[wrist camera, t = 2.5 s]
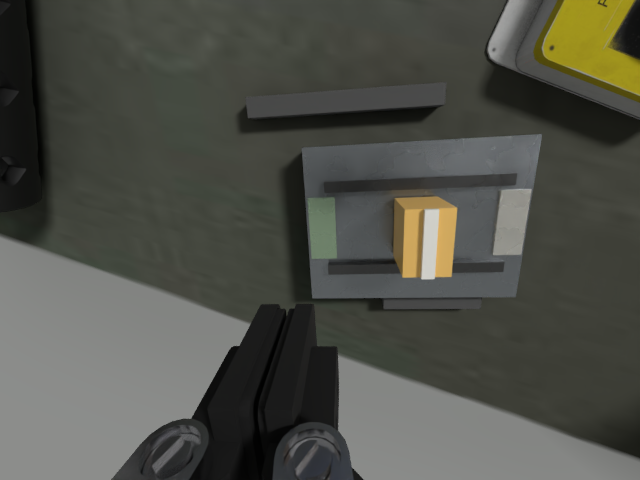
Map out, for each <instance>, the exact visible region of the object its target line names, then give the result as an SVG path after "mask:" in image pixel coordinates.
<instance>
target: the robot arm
mask: <svg viewBox="0 0 640 480" xmlns="http://www.w3.org/2000/svg"><path fill="white" fill-rule="evenodd" d="M338 402H339V375H338V350H337V347H323V346H317V340H316V326H315V311H314V304H296V306H295V309H289V312H288V315H287V316H286V310H285V309H280V306H279V304H262V305H261V306H260V307H259V309H258V311H257V313H256V315H255V317H254V319H253V321H252V323H251V325H250V327H249V329H248V331H247V333H246V335H245V337H244V338H243V340H242V342H241V344H240V346H233V347H231V349H230V350H229V352H228V354H227V355H226V357H225V359H224V361H223V362H222V364H221V366H220V368H219V370H218V371H217V373H216V375H215V377H214V379H213V381H212V382H211V384H210V386H209V388H208V389H207V391H206V393H205V395H204V397H203V398H202V400H201V402H200V404H199V406H198V407H197V410H196V411H195V413H194V415H193V416H192V419H181V420H176V421H172V422H170V423H168V424H166V425H164V426H162V427H160V428H159V429H157V430H156V431H155V432H153V433H152V434H150V435H149V436H148V437H147V438H146V439H145V440H144V441H143V442H142V444H140V446H139V447H138V448H137V449H136V451H135V452H134V453H133V454H132V455H131V457H130V458H129V459H128V460H127V461H126V463H125V464H124V465H123V466H122V468H121V469H120V470H119V471H118V472H117V474H116V475H115V476H114V477H113V478H112V479H111V480H363V479H362V478H361V477H360V475H359V474H358V473H357V472H356V471H354V469H353V468H352V467H351V461H350V455H349V450H348V447H347V444H346V441H345V439H344V438H343V437H342V435H341V434H340V433H339V431H338V406H339V405H338V404H339V403H338Z"/></svg>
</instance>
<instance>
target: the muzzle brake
mask: <svg viewBox="0 0 640 480" xmlns="http://www.w3.org/2000/svg"><path fill="white" fill-rule="evenodd" d="M37 156H38V140H37V128H36V115H35V107H34V101H33V91H32V66H31V53H30V41H29V31H28V26H27V21H26V0H0V213H1V212H7V211H13V210H18V209H22V208H26V207H29V206H31V205H34V204H35V203H37V202H39V201H40V200H41V198H42V190H41V178H40V172H39V163H38V157H37Z"/></svg>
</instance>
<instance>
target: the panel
mask: <svg viewBox="0 0 640 480" xmlns="http://www.w3.org/2000/svg"><path fill="white" fill-rule="evenodd" d="M541 137H542V134H535V135H516V136H498V137H481V138H463V139H446V140H428V141H411V142H393V143H376V144H358V145H340V146H323V147H306V148H302V159H303V173H304V187H305V202H306V216H307V230H308V244H309V259H310V273H311V287H312V298H441V297H516V292H517V286H518V279H519V273H520V267H521V261H522V255H523V248H524V242H525V236H526V230H527V224H528V217H529V211H530V205H531V199H532V193H533V186H534V180H535V174H536V168H537V162H538V155H539V149H540V143H541ZM434 196H438V197H440V198H441V199H443V200H445V201H446V202H448V203H450V204H452V205H453V206H455V207H457V219H456V230H455V242H454V253H453V265H452V277H435V279H421V278H420V277H413V278H402V275H401V273H400V270H399V268H398V266H397V263H396V261H395V258H394V256H393V241H394V198H408V197H434Z"/></svg>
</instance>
